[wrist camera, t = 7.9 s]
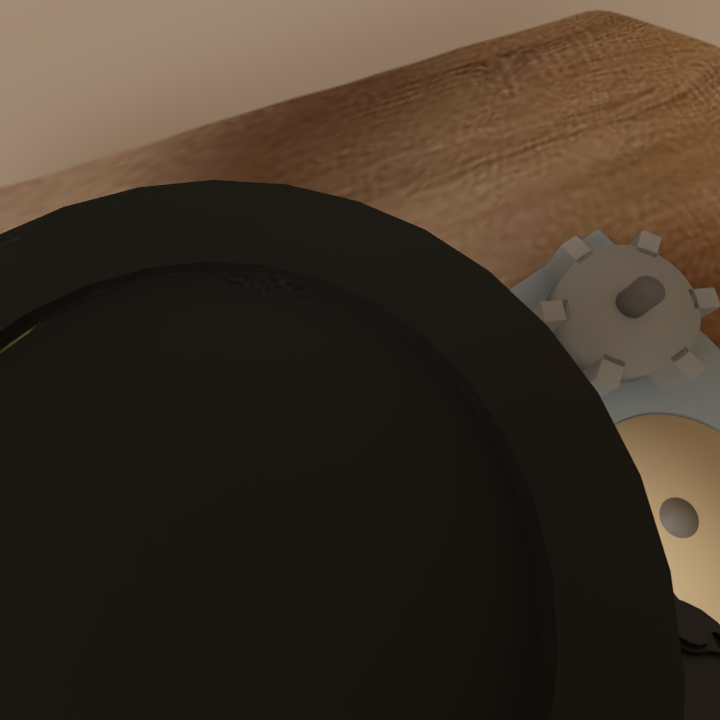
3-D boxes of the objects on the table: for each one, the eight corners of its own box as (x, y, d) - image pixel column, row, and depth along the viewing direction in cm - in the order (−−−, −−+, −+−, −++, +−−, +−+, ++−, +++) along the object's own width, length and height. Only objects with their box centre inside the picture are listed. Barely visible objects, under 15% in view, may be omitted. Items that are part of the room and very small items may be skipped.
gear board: (387, 377, 34) (395, 347, 28) (595, 234, 38) (640, 181, 32) (712, 805, 26) (817, 888, 20) (929, 569, 30) (1069, 581, 24)
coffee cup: (430, 404, 20) (629, 124, 6) (454, 676, 17) (1012, 1536, 3) (194, 412, 20) (-215, 137, 5) (174, 689, 17) (-900, 1732, 2)
